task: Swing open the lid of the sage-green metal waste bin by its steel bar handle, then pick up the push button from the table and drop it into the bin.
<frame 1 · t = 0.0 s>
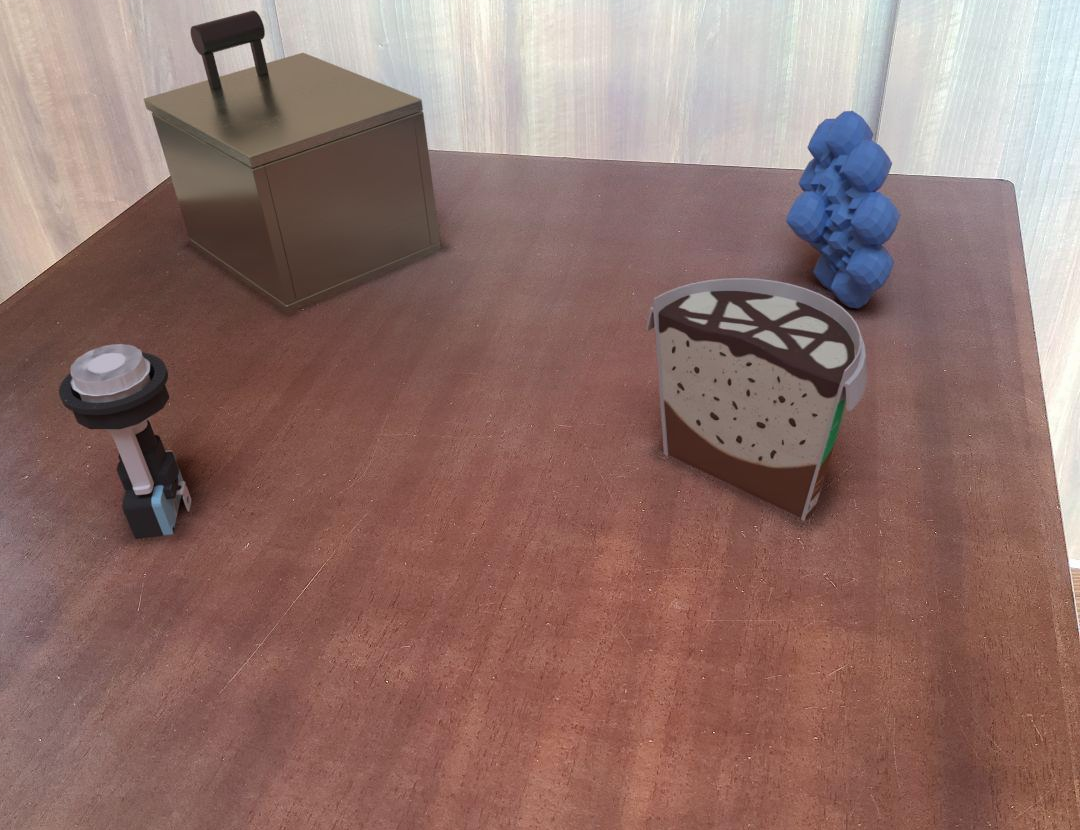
bin: (314, 250, 83), on the table
grapes: (822, 295, 73), on the table
food container: (761, 466, 59), on the table
bin lid: (273, 72, 74), point 14 cm above the table, hinge at 0.0°
push button: (168, 508, 59), on the table
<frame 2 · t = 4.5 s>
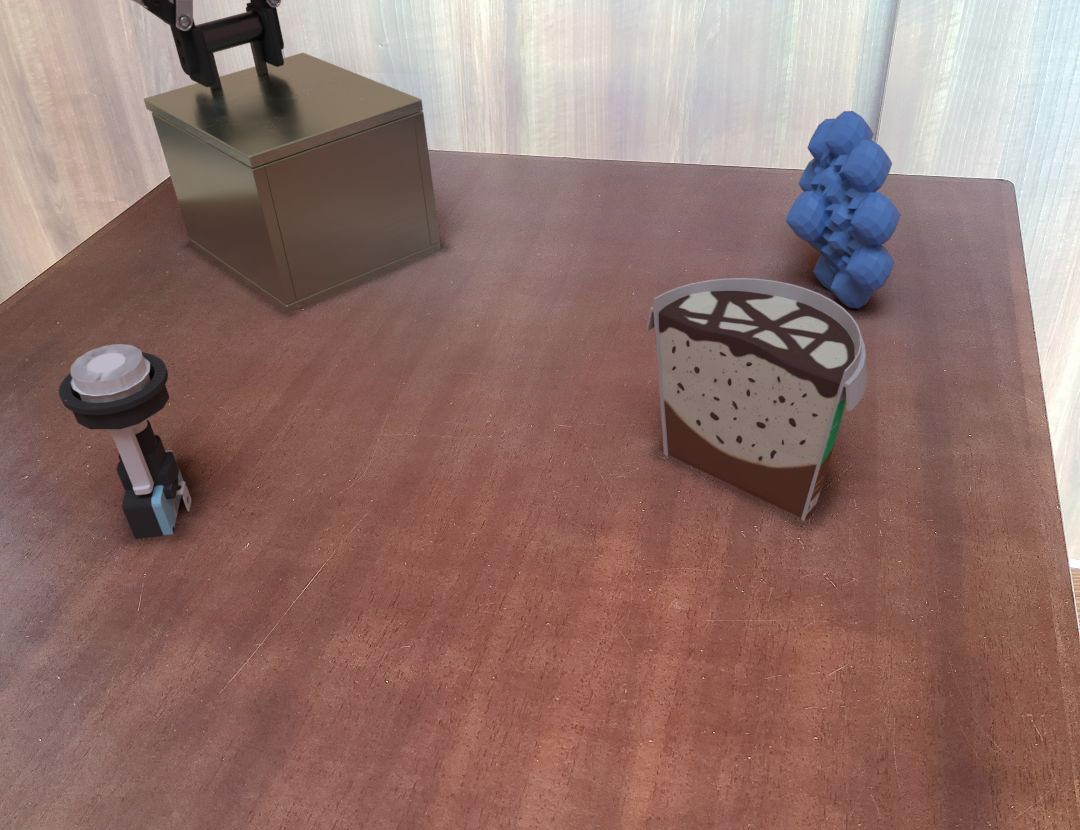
hand: (237, 69, 78), 13 cm above the table, tool pointing down, fingers closed on bin lid, 5 cm apart
bin lid: (273, 72, 74), point 14 cm above the table, hinge at 0.0°, touching gripper
everything else where it was.
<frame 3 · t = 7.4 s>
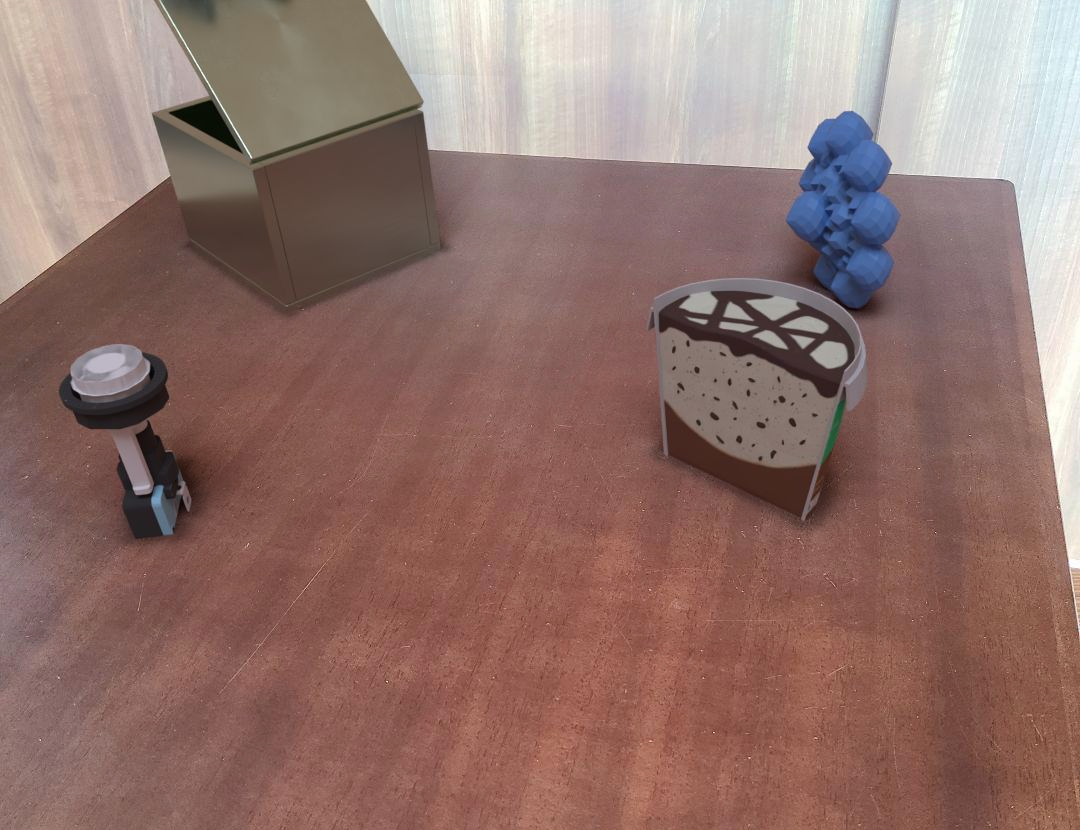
bin lid: (284, 3, 68), point 19 cm above the table, hinge at 44.4°, touching gripper
everything else where it was.
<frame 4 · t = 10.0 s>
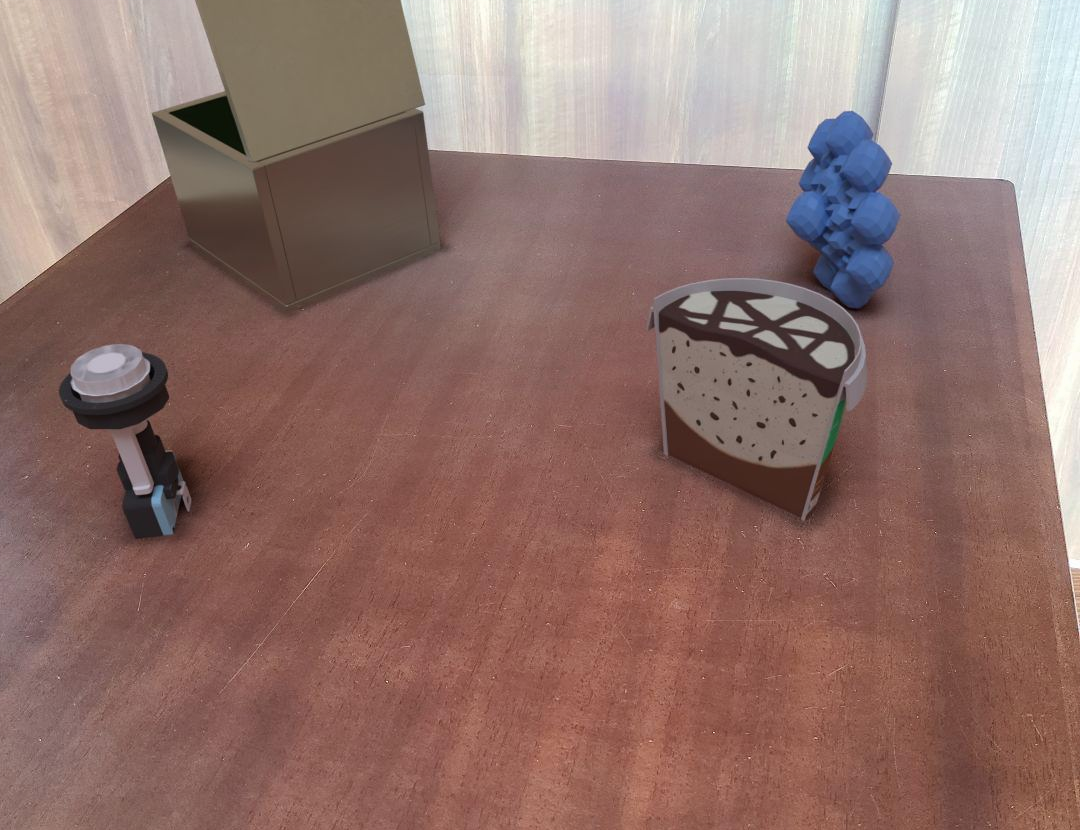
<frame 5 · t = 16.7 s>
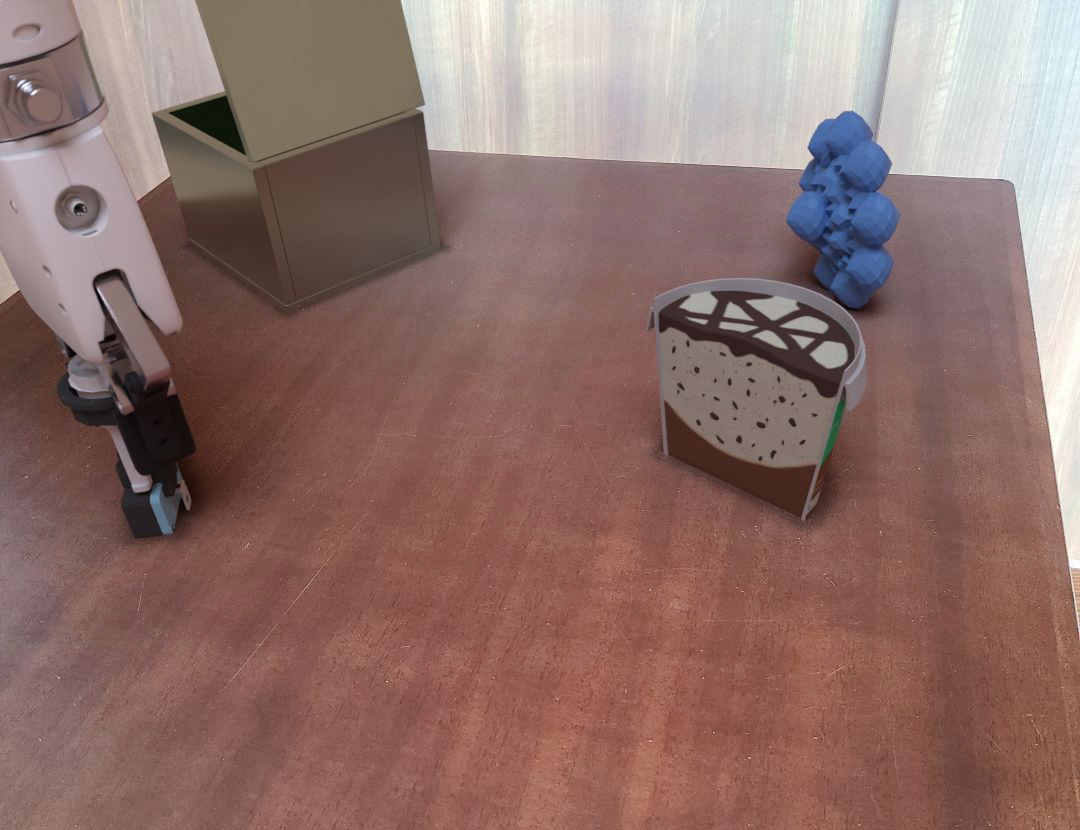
hand: (142, 435, 56), 5 cm above the table, tool pointing down, fingers closed on push button, 5 cm apart
push button: (167, 507, 59), on the table, touching gripper
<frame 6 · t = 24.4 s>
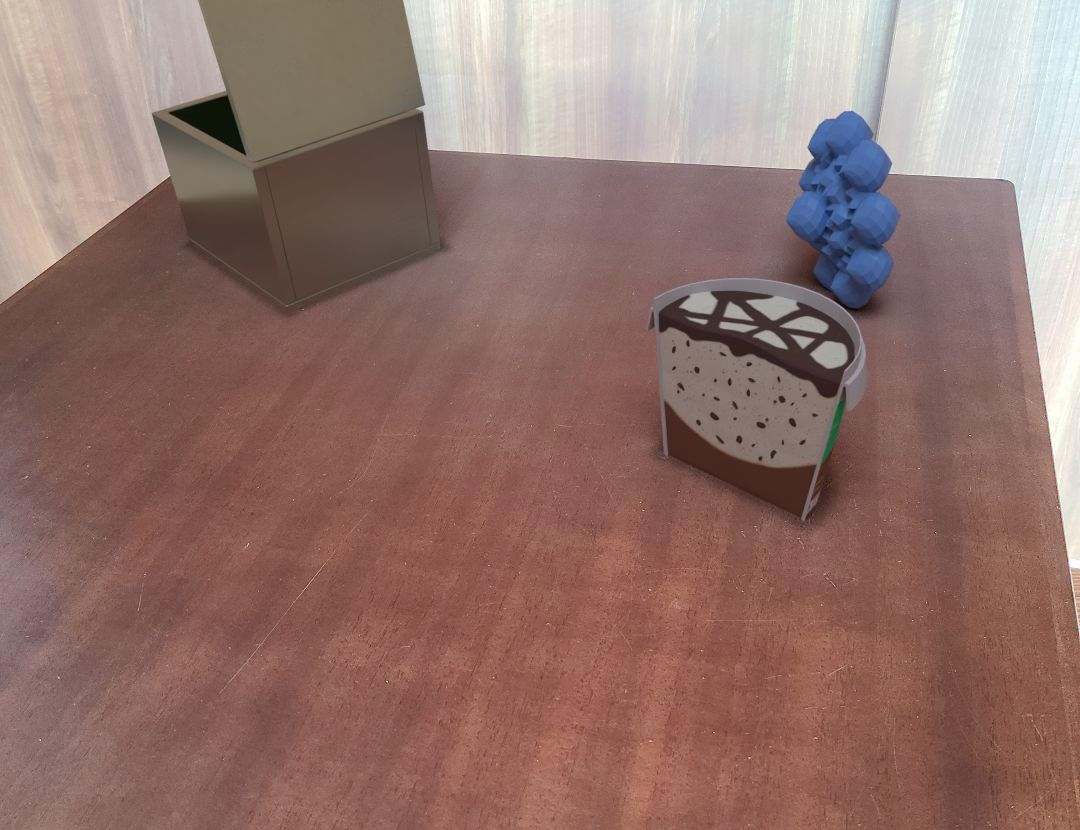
push button: (259, 33, 73), point 16 cm above the table, touching gripper
when the fingers open (12 cm above the table, at t = 27.0 s): push button drops 6 cm, resting on bin.
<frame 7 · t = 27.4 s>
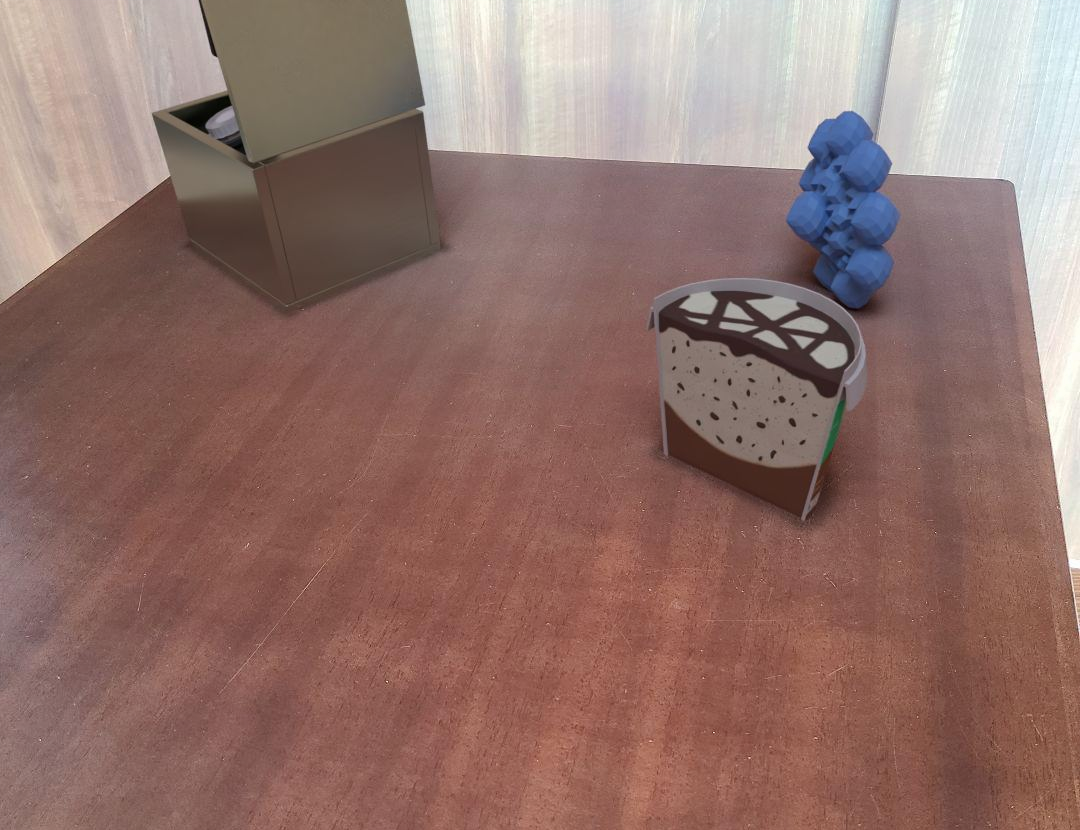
hand: (265, 66, 74), 14 cm above the table, tool pointing down, fingers open, 9 cm apart
push button: (296, 231, 83), point 1 cm above the table, touching bin
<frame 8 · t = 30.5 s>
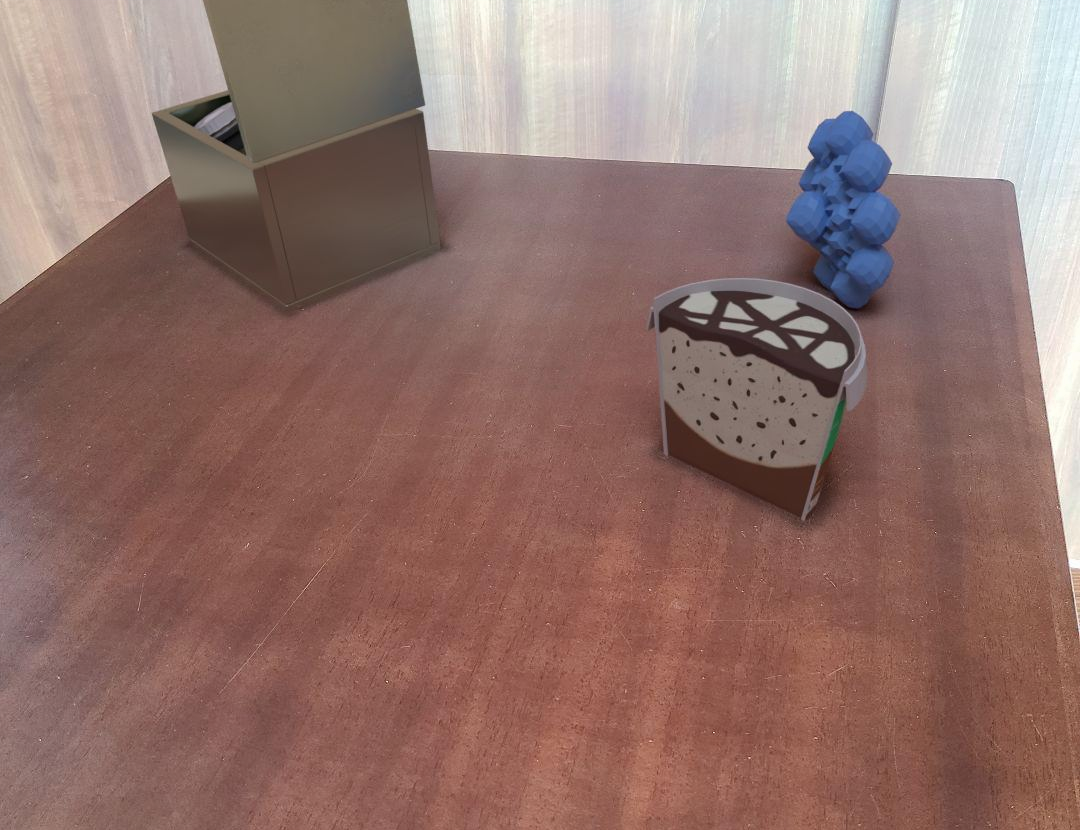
bin lid: (327, 1, 64), point 20 cm above the table, hinge at 85.1°
at the end: bin lid at +85° (first picture: +0°); push button inside the target area in the bin (1.8 cm from its centre), point 1.3 cm above the bin's base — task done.
